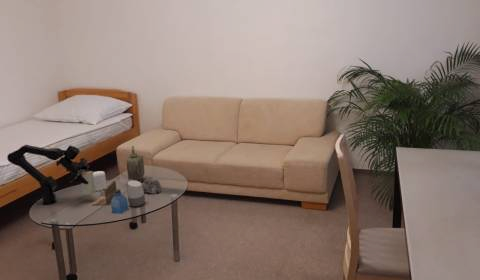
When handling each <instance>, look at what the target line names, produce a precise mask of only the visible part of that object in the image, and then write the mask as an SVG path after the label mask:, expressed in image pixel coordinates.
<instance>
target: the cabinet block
mask: <svg viewBox="0 0 480 280" xmlns="http://www.w3.org/2000/svg"><path fill="white" fill-rule="evenodd" d="M93 172H94V171H92V170H88V171H84V172H82V177H83V178H84V179H85V180H86V181H87V182H88V184H84V183H80V184H81V190H82V195H93V194H94V193H95V192H97V191H96V190H95V183H94V176H93Z"/></svg>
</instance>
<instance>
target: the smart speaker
mask: <svg viewBox="0 0 480 280" xmlns="http://www.w3.org/2000/svg"><path fill="white" fill-rule="evenodd" d="M127 202H128V205H129V206H131V207H133V208H134V207H135V208H136V207H141V206H142V205H144V204H145V202H146V197H145V192H143V188H142V182H139V181H138V180H133V179H132V180H129V181H128V182H127Z"/></svg>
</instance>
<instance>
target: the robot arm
mask: <svg viewBox="0 0 480 280" xmlns="http://www.w3.org/2000/svg"><path fill="white" fill-rule="evenodd" d="M80 152H81V151H80V149H79V148H78V147H76V146H73V145H71V144H70V145H69V146H67V149H61V148H59V147H58V148H57V147H56V148H55V147H54V148H53V147H52V148H45V147H44V148H43V147H40V146H35V145H34V146H33V145H29V144H24V145H22V146H20V148H18V149H16V150H14V151H12V152H10V153H8V154H7V157H6V158H7V161H8V162H9V163H10V164H12V165H15V166H17V167H20V168H21V169H22V170H23V171H25V172H26V173H27V174H28V175H30V176H31V177H32V178H33V179H34V180H36V181H37V182H38V183H39V184H38V185H40V188H41V190H39V192H38V193H39V195H40V196H41V197H42V205H43V204H45V205H50V204H49V203H54V204H55V203H56V201H57V195H56V193H55V190H56V188H57V186H58V183H57V181H56V179H55V178H54V177H52V175H49V176H45V174H43V173H42V172H41V171H40V170H38V169H37V168H36V167H35V166H34V165H32V164H31V163H30V162H29V161H27V159H26V156H25V154H31V155H36V156H42V157H45V158H47V159H49V160H52V161H55V162H56V166H57V167H58V166H62V167H63V168H64V169H66V170H65V171H66V172H70V173H71V174H70V175H69V176H68V178H67V181H68V182H69V183H72V182H74V183H79V184H81V183H84V184H88V182H87V181H86V180H85V179H84V178H83V177H82V172H84V171H89V167H90V165H89V164H88V162H87V161H88V159H86V158H85V157H82V158H80V160H79V161H78V162H77V161H73V160H75V159H76V158H77V156H78V155H79V154H80Z"/></svg>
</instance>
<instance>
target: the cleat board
mask: <svg viewBox="0 0 480 280" xmlns="http://www.w3.org/2000/svg"><path fill="white" fill-rule="evenodd" d="M116 182H117V181H116V180H112V181H111V182H110V183H109V184H108V185H107V187H106V188H105V189H104V195H105V196H101V195H100V196H99V197H98V198H97V199H96V200H95V201H94V202H93V203H92V204H91V205H92V206H110V205H111V200H112V198H113V197H114V196H116V195H115V190H117V184H116Z"/></svg>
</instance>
